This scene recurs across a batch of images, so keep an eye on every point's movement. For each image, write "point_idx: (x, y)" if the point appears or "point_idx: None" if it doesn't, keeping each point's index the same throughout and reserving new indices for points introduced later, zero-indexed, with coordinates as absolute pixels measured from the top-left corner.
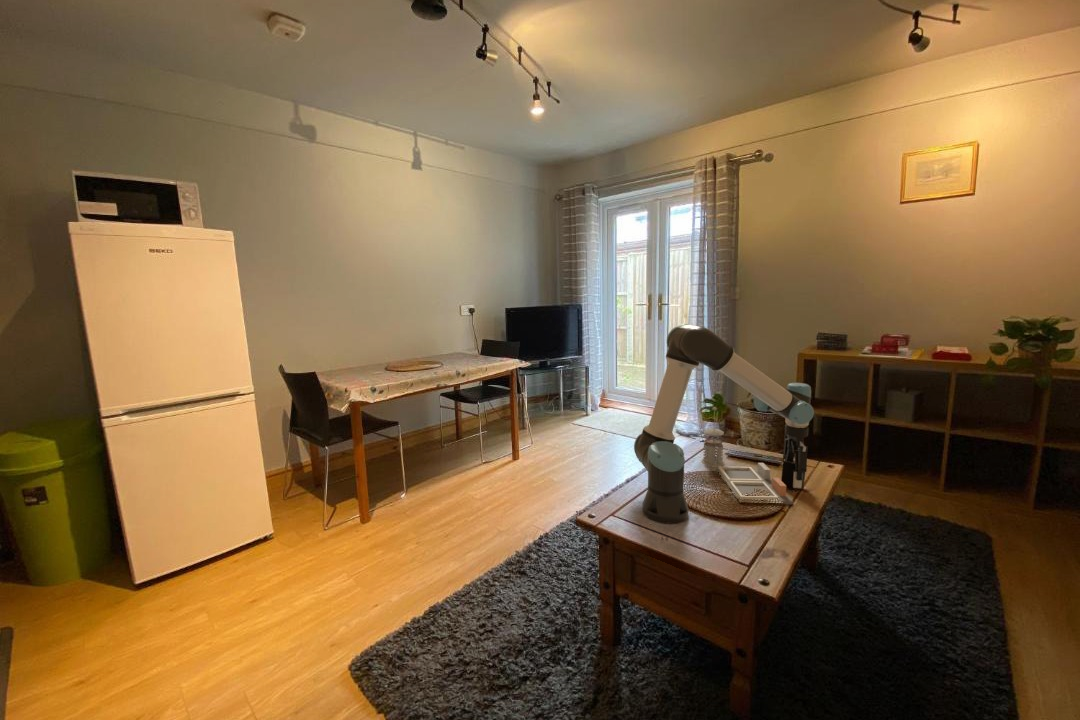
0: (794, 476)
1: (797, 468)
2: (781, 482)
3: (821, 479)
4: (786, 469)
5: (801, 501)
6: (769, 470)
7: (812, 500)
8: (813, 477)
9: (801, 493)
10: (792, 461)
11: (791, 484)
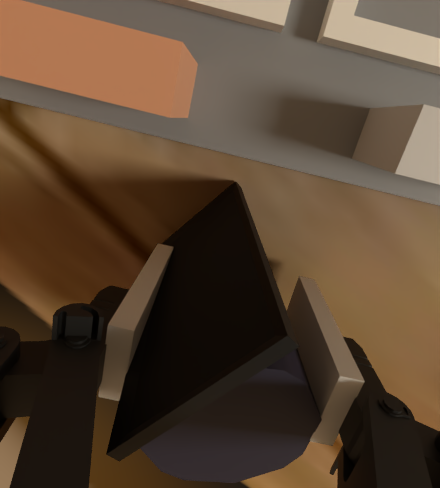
0: (131, 290)
1: (45, 366)
2: (30, 64)
3: (286, 475)
4: (228, 289)
5: (10, 182)
6: (395, 164)
7: (28, 262)
8: (321, 460)
9: (129, 263)
10: (340, 462)
11: (181, 248)
